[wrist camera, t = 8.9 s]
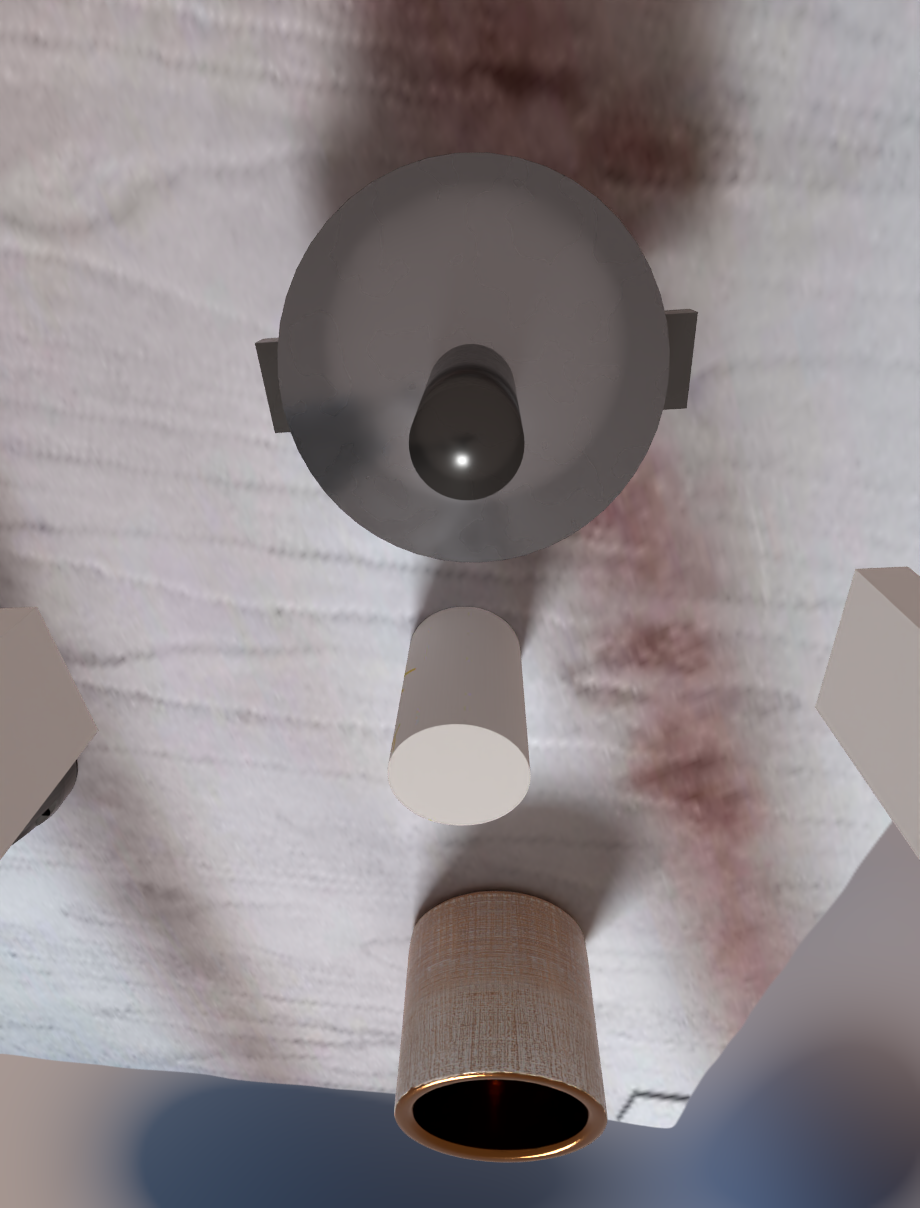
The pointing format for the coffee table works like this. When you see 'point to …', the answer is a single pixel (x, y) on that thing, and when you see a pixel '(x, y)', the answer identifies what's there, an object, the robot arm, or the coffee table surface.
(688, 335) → the pot
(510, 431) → the lid
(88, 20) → the coffee table surface
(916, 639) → the robot arm
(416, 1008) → the planter
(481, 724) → the beige cylinder
